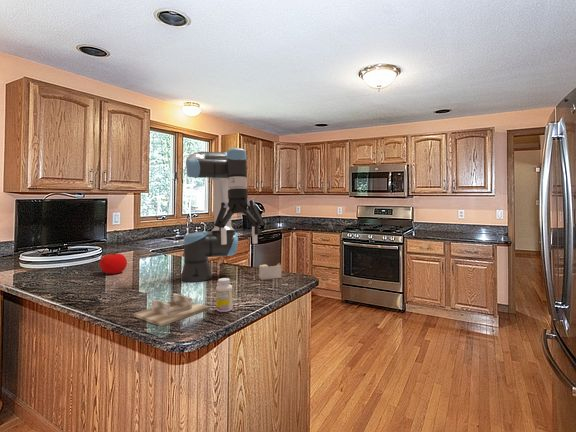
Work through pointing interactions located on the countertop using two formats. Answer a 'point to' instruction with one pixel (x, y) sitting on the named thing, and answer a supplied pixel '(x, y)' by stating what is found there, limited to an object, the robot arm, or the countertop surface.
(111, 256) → the tomato
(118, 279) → the countertop surface
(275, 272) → the model
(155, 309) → the bottle dock
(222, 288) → the supplement bottle
